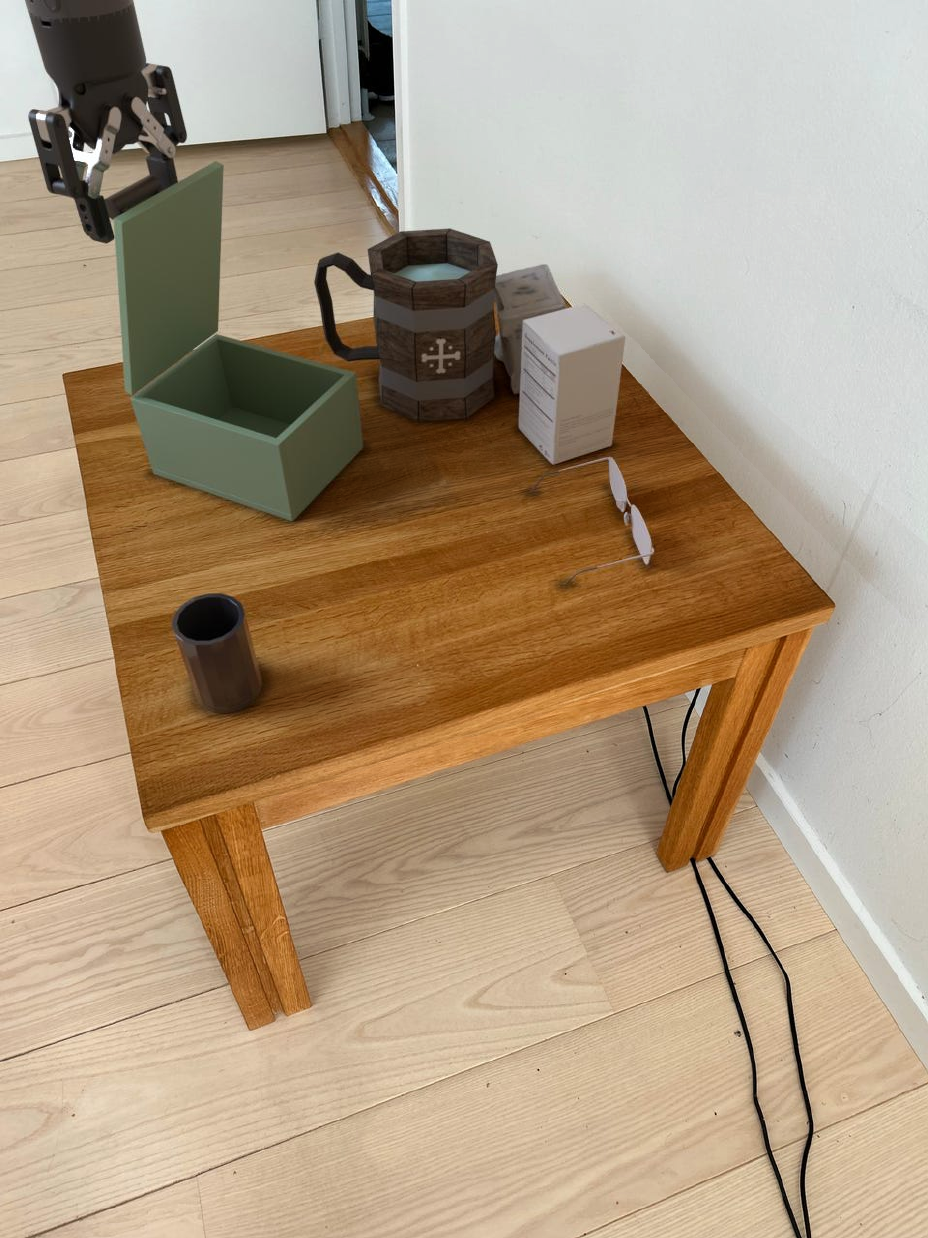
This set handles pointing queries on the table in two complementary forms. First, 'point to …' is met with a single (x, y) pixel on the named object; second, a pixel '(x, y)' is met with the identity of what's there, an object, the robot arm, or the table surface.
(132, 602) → the table surface
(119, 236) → the lid
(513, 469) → the table surface
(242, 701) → the cup
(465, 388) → the mug
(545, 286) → the incense holder
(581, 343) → the white packaging box
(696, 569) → the table surface
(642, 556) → the eyeglasses
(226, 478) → the chest
